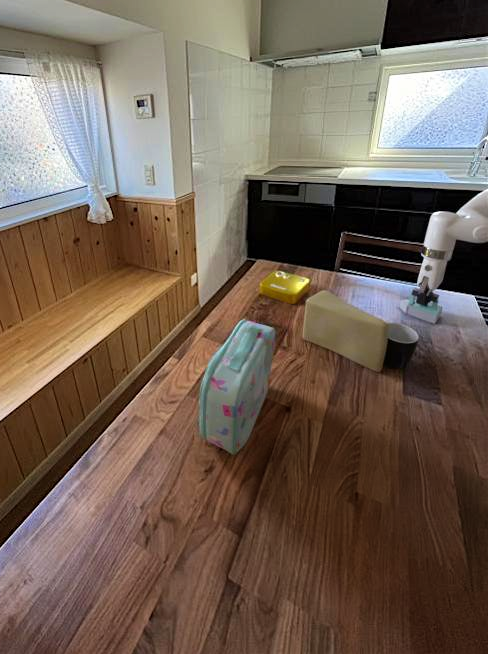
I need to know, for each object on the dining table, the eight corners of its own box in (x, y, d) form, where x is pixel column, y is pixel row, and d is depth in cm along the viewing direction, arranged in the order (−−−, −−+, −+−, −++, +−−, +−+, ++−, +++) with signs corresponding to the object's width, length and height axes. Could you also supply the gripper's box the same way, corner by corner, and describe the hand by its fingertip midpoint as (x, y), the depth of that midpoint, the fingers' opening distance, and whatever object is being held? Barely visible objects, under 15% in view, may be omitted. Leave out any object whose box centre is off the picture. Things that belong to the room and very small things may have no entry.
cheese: (389, 364, 93) (400, 319, 87) (370, 380, 88) (381, 334, 82) (319, 327, 110) (324, 287, 104) (300, 339, 105) (304, 298, 99)
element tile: (257, 293, 131) (257, 282, 129) (275, 278, 141) (275, 268, 139) (294, 305, 122) (295, 294, 120) (310, 288, 132) (311, 277, 130)
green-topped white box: (440, 316, 111) (446, 294, 108) (434, 323, 108) (441, 301, 104) (402, 303, 119) (407, 282, 116) (396, 310, 116) (401, 288, 112)
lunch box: (238, 368, 95) (238, 303, 86) (274, 379, 90) (279, 313, 81) (195, 447, 74) (190, 373, 65) (239, 467, 69) (240, 390, 60)
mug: (370, 349, 99) (376, 320, 95) (404, 352, 97) (411, 323, 93) (381, 379, 88) (388, 348, 84) (419, 383, 86) (429, 352, 82)
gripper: (443, 264, 96) (428, 317, 104) (458, 247, 106) (443, 297, 113) (414, 256, 102) (401, 308, 109) (430, 241, 111) (418, 289, 119)
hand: (423, 302), depth 111 cm, fingers closed on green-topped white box, 2 cm apart
